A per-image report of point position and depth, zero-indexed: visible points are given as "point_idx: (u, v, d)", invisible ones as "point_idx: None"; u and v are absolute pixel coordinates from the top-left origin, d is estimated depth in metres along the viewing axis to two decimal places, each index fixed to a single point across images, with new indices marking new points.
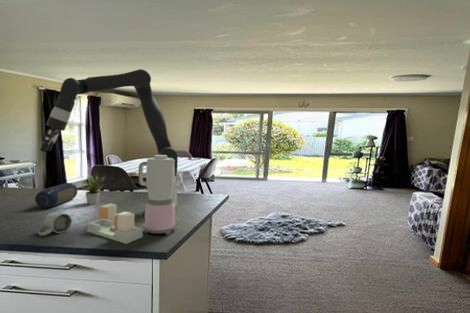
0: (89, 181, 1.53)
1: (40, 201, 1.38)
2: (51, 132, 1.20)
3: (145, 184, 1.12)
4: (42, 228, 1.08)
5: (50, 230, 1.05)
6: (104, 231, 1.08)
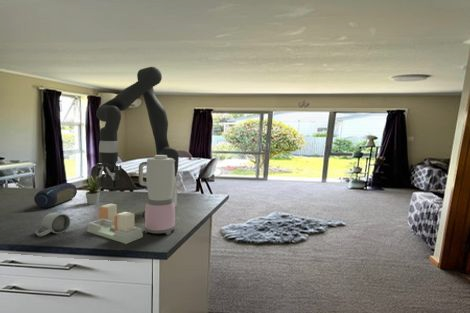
0: (89, 181, 1.53)
1: (39, 201, 1.38)
2: (120, 167, 1.17)
3: (145, 184, 1.12)
4: (40, 228, 1.07)
5: (48, 230, 1.05)
6: (104, 231, 1.08)
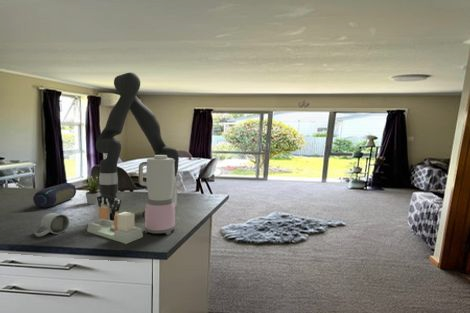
0: (89, 181, 1.53)
1: (38, 201, 1.38)
2: (119, 202, 1.19)
3: (145, 184, 1.12)
4: (39, 229, 1.07)
5: (47, 231, 1.04)
6: (104, 231, 1.08)
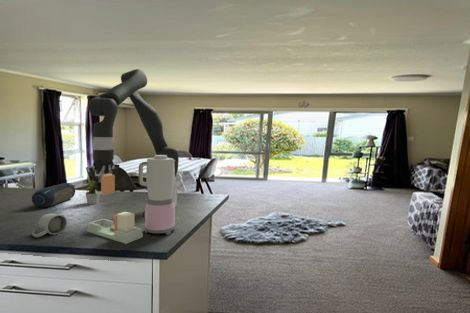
0: (89, 181, 1.53)
1: (36, 201, 1.38)
2: None
3: (145, 184, 1.12)
4: (37, 229, 1.06)
5: (45, 232, 1.03)
6: (104, 231, 1.08)
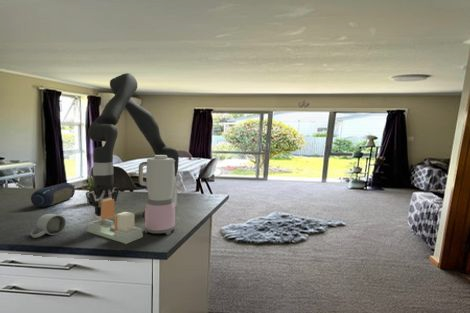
0: (89, 181, 1.53)
1: (35, 201, 1.39)
2: None
3: (145, 184, 1.12)
4: (35, 230, 1.06)
5: (43, 232, 1.03)
6: (104, 231, 1.08)
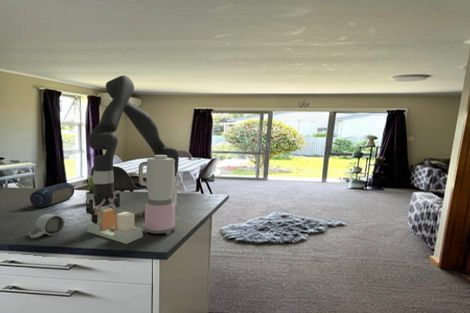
0: (89, 181, 1.53)
1: (34, 201, 1.39)
2: None
3: (145, 184, 1.12)
4: (34, 230, 1.05)
5: (42, 232, 1.03)
6: (104, 231, 1.08)
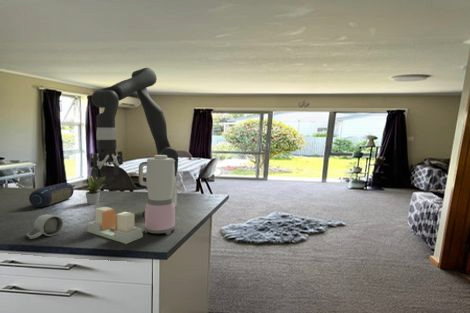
0: (89, 181, 1.53)
1: (34, 200, 1.39)
2: None
3: (145, 184, 1.12)
4: (32, 231, 1.05)
5: (40, 233, 1.02)
6: (104, 231, 1.08)
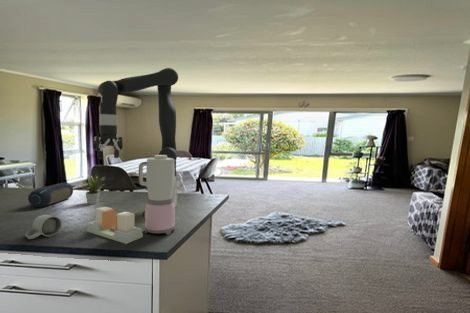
0: (89, 181, 1.53)
1: (33, 200, 1.39)
2: None
3: (145, 184, 1.12)
4: (31, 231, 1.04)
5: (38, 233, 1.02)
6: (104, 231, 1.08)
